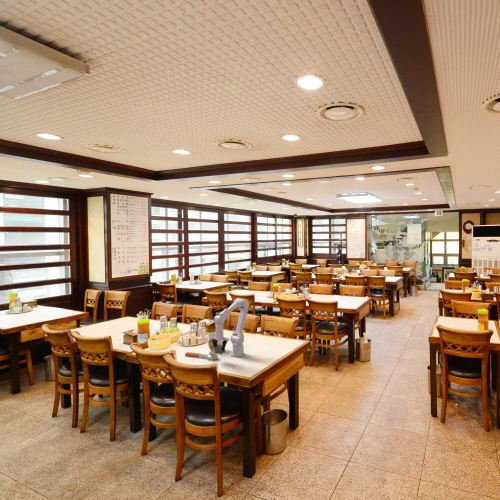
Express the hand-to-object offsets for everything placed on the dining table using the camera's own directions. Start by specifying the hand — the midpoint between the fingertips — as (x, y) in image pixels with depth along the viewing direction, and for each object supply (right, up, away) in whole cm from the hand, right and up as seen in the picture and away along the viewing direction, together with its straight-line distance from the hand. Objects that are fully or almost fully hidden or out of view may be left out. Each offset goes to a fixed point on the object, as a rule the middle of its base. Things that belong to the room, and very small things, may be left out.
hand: (219, 350), depth 254 cm
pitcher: (-6, -8, +27) cm, 29 cm away
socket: (0, -2, 0) cm, 2 cm away
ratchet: (-15, -9, +10) cm, 20 cm away
